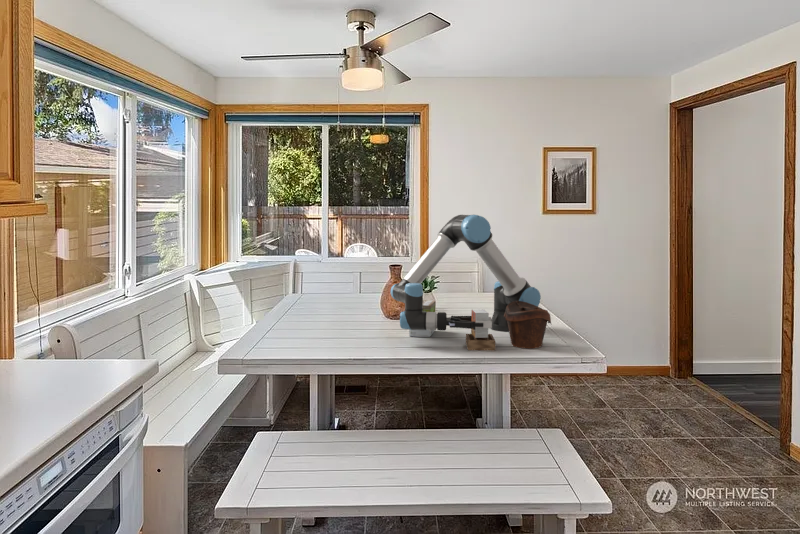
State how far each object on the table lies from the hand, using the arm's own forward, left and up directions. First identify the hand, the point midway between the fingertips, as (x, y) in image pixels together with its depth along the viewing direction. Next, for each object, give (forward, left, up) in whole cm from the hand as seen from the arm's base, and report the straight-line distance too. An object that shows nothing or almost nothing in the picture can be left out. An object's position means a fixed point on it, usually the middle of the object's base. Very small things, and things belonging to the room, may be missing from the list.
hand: (491, 322), depth 244 cm
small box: (+5, 0, -6) cm, 8 cm away
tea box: (+28, -26, -11) cm, 40 cm away
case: (-16, -4, -11) cm, 19 cm away
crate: (+4, -1, -10) cm, 11 cm away
